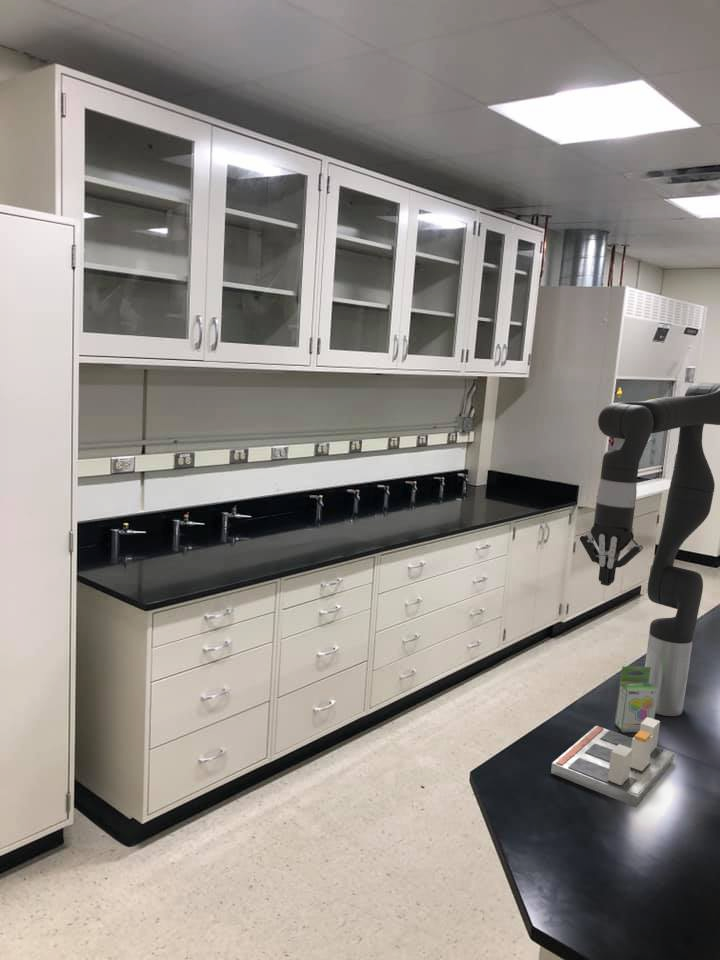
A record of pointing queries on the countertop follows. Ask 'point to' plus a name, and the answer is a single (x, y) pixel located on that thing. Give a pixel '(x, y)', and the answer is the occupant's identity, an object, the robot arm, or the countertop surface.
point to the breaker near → (620, 764)
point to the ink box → (635, 699)
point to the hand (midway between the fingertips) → (605, 584)
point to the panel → (593, 760)
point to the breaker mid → (641, 750)
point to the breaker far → (651, 730)
